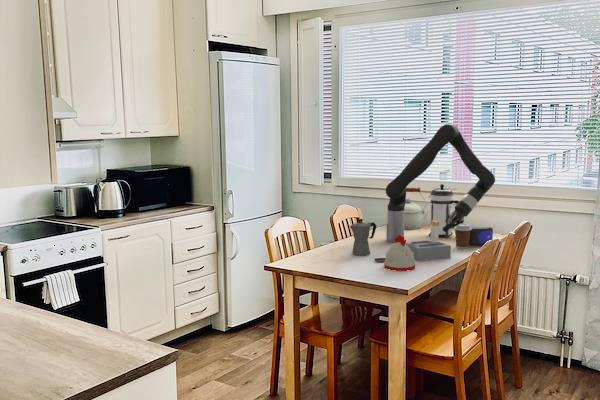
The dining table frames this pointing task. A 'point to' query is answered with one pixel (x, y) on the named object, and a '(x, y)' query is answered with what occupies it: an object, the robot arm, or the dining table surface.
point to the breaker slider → (434, 232)
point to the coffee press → (441, 207)
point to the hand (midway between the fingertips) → (444, 230)
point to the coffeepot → (362, 237)
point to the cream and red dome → (399, 256)
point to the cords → (380, 259)
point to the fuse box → (429, 250)
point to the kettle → (413, 212)
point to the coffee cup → (462, 235)
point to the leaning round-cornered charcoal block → (480, 236)
